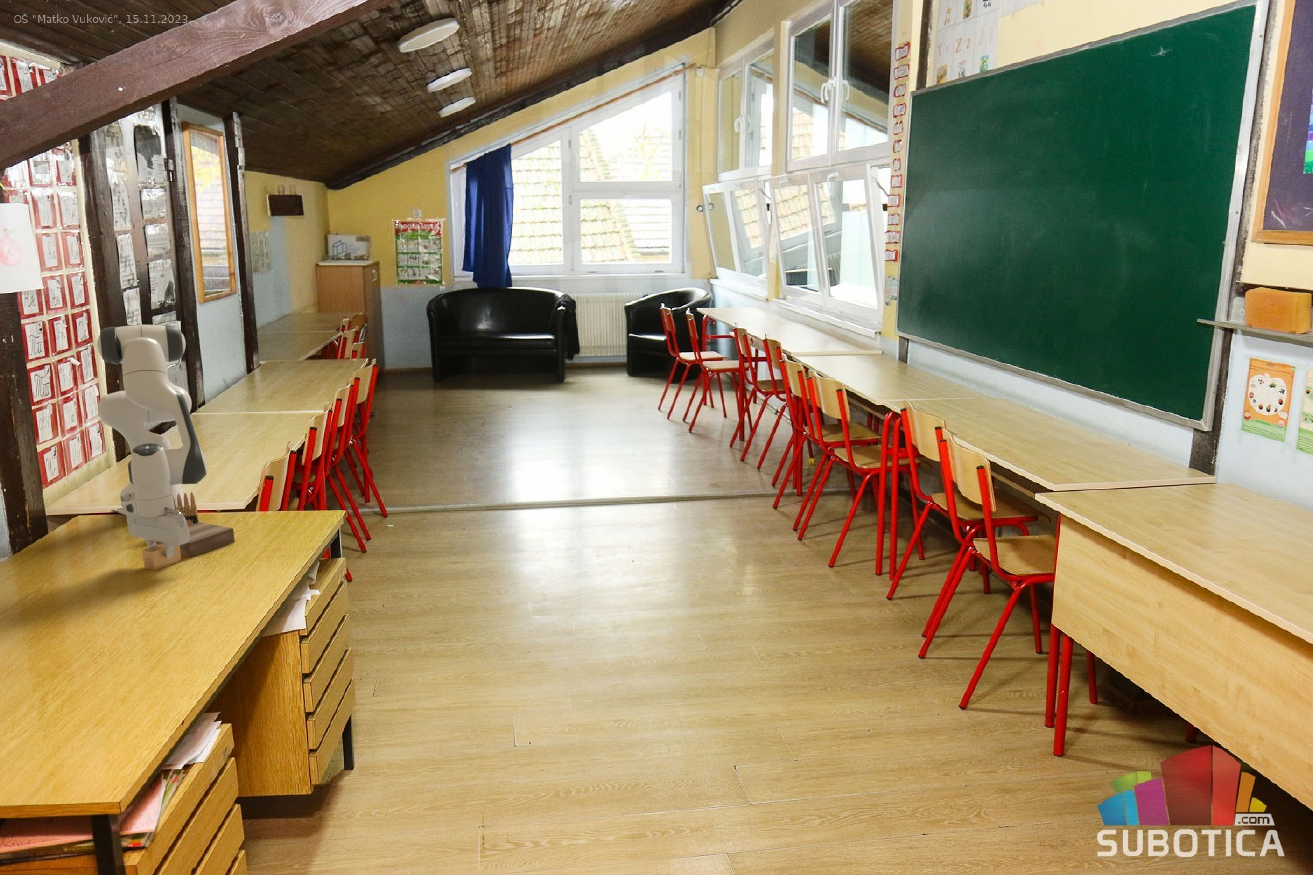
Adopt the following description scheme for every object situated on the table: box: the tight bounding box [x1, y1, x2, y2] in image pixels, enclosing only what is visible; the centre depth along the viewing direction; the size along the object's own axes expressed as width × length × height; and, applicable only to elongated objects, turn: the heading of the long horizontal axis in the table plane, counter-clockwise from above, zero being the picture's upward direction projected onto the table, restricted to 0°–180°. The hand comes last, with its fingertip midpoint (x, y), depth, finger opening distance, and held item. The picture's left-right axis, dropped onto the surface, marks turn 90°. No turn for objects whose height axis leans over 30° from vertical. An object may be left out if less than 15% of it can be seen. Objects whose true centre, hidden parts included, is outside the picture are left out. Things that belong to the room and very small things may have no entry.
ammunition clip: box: [173, 491, 200, 526], centre depth 281 cm, size 11×2×12 cm, turn 109°
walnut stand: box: [156, 521, 236, 558], centre depth 270 cm, size 14×14×4 cm
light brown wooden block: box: [141, 543, 183, 571], centre depth 256 cm, size 4×8×5 cm, turn 153°
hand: (162, 555), depth 256 cm, fingers closed on light brown wooden block, 4 cm apart
